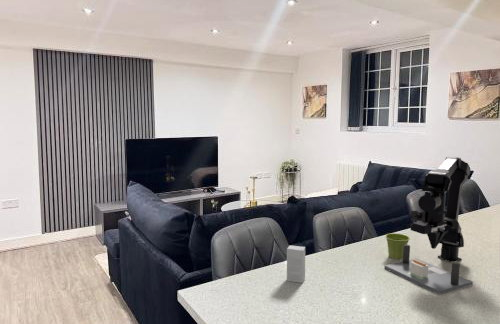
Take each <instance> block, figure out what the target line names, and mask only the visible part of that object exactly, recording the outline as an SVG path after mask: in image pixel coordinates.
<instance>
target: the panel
mask: <svg viewBox="0 0 500 324" xmlns="http://www.w3.org/2000/svg"><path fill="white" fill-rule="evenodd" d="M414 259H415V260H418V261H420V262H422V263H425V264H426V265H428V276H427V277H423V278H421V277H419V276H417V275H414V274H412V273H410V270H411V262H413V260H414ZM384 269H385V270H387V271H389V272H391V273H393V274H395V275H397V276H399V277H402V278H404V279H405V280H408V281H410V282H412V283H414V284H416V285H418V286H420V287H422V288H423V289H424V288H425V289H426V290H428V291H431V292H433V293H435V294H437V295H442V294H445V293H449V292H453V291H455V290H461V289H463V288H466V287H470V286H473V285H474V281H472V280H471V279H468V278H466V277H462V276H461V275H459V284H458V285H452V284H451V271H448V270H445V269H443V268H441V267H438V266H436V265H433V264H431V263H429V262H426V261H424V260H421V259H419V258H412V259H409V264H404V263H403V260H402V261H399V262H394V263H391V264H390V263H389V264H386V265H384Z"/></svg>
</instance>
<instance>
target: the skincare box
mask: <svg viewBox="0 0 500 324" xmlns="http://www.w3.org/2000/svg"><path fill="white" fill-rule="evenodd" d="M305 280H306V246H301V245H300V246H299V245H298V246H297V245H292V244H291V245H288V247H287V248H286V281H287V282H290V283H299V284H304V281H305Z"/></svg>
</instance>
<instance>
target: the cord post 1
mask: <svg viewBox="0 0 500 324" xmlns="http://www.w3.org/2000/svg"><path fill="white" fill-rule="evenodd" d="M410 254H411V245H410V244H407V245H406V244H405V245H403V258H402V261H403V263H404V264H409V260H410V257H411V256H410Z"/></svg>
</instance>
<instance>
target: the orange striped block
mask: <svg viewBox="0 0 500 324" xmlns="http://www.w3.org/2000/svg"><path fill="white" fill-rule="evenodd" d="M413 259H414V260H413V262H411V270H410V273H412V274H414V275H417V276H419V277H421V278H423V277H427V276H428V265H426V264H425V263H422V262H420V261H418V260H415V259H416V258H413Z"/></svg>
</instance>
